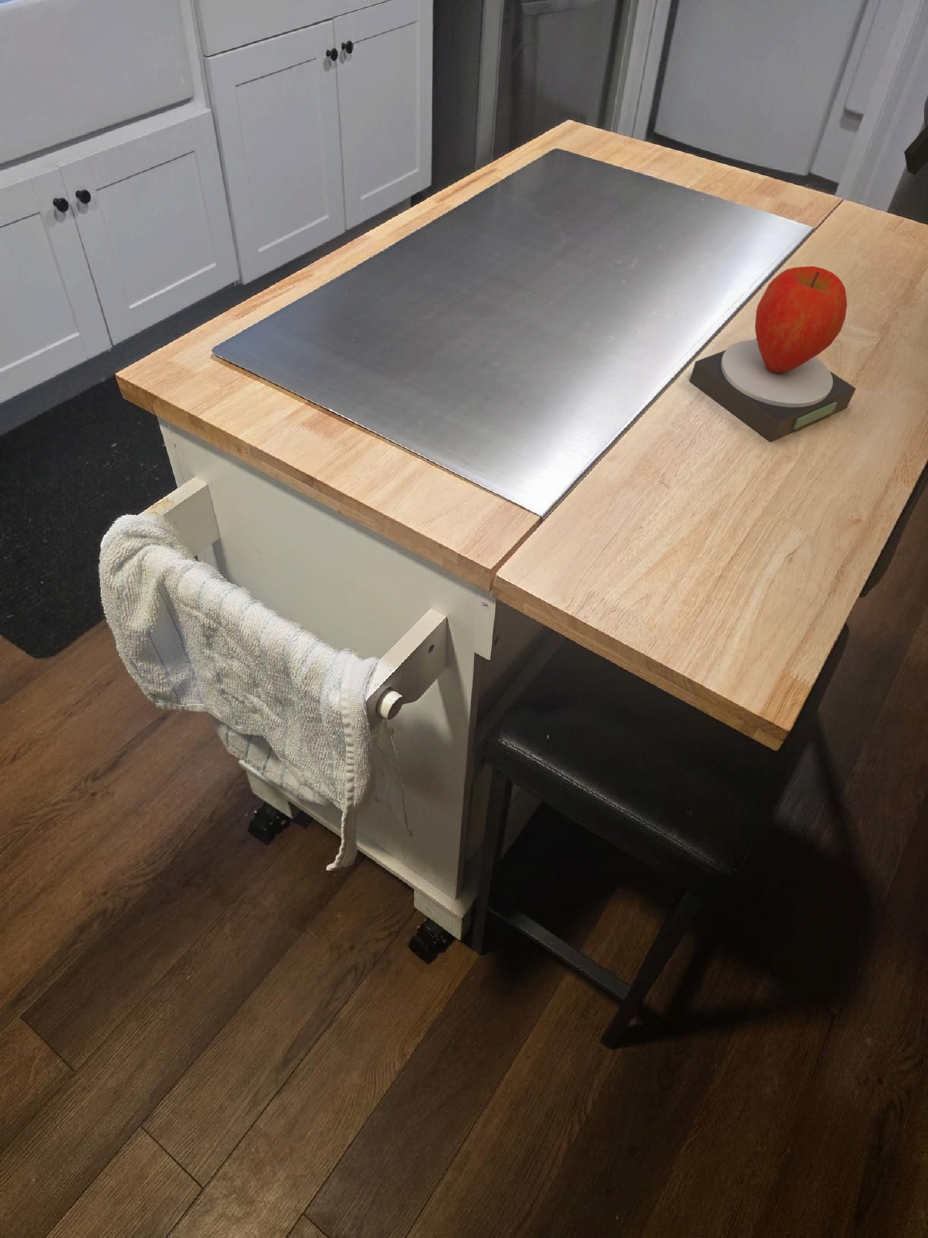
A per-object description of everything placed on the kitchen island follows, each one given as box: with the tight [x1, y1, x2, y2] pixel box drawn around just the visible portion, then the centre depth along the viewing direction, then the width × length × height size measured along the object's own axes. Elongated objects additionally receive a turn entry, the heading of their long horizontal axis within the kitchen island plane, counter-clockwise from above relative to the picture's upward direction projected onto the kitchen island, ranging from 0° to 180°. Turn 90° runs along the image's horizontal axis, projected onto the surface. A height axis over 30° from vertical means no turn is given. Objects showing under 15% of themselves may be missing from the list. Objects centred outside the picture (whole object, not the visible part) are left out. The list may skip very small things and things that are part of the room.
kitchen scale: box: [689, 338, 857, 443], centre depth 93 cm, size 12×12×3 cm
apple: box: [754, 265, 848, 373], centre depth 88 cm, size 9×8×11 cm
